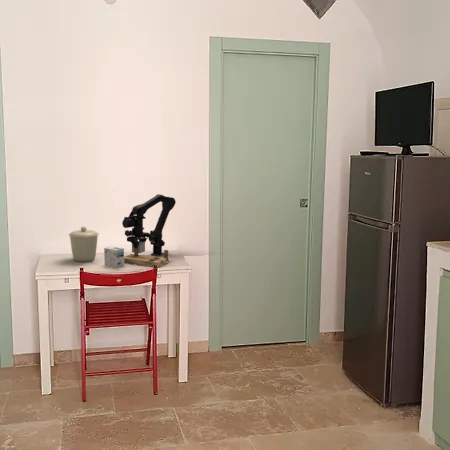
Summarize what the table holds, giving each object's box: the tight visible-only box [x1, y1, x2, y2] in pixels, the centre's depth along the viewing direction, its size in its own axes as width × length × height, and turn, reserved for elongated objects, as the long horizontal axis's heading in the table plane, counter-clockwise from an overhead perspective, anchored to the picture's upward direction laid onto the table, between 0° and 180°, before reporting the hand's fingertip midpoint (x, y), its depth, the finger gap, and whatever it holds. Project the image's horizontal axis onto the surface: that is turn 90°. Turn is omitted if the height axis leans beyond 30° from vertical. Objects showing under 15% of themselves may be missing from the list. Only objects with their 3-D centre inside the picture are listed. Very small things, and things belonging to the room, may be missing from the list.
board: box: [124, 248, 168, 268], centre depth 364 cm, size 12×26×8 cm, turn 67°
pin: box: [163, 249, 169, 262], centre depth 369 cm, size 3×3×7 cm
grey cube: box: [131, 242, 146, 254], centre depth 376 cm, size 6×6×6 cm
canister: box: [68, 226, 100, 263], centre depth 368 cm, size 18×18×21 cm
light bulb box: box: [103, 245, 125, 268], centre depth 357 cm, size 11×7×11 cm, turn 56°
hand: (138, 250), depth 377 cm, fingers closed on grey cube, 6 cm apart
